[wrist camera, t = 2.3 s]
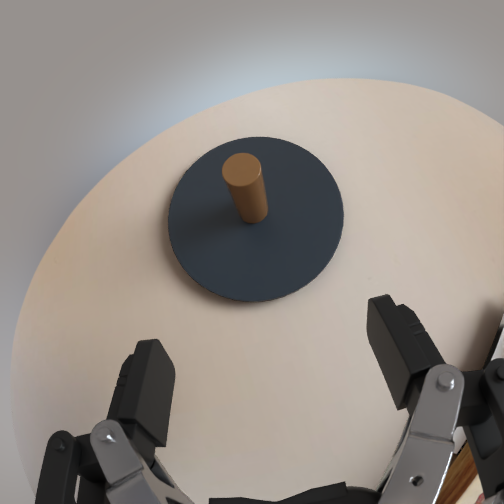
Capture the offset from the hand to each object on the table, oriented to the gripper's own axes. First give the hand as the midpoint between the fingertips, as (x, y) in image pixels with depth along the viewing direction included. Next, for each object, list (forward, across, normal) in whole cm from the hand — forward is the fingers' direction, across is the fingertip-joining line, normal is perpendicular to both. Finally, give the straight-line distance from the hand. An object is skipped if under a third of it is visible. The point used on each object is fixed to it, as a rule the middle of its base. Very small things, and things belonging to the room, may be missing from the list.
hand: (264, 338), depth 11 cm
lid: (+17, 0, +2) cm, 17 cm away
